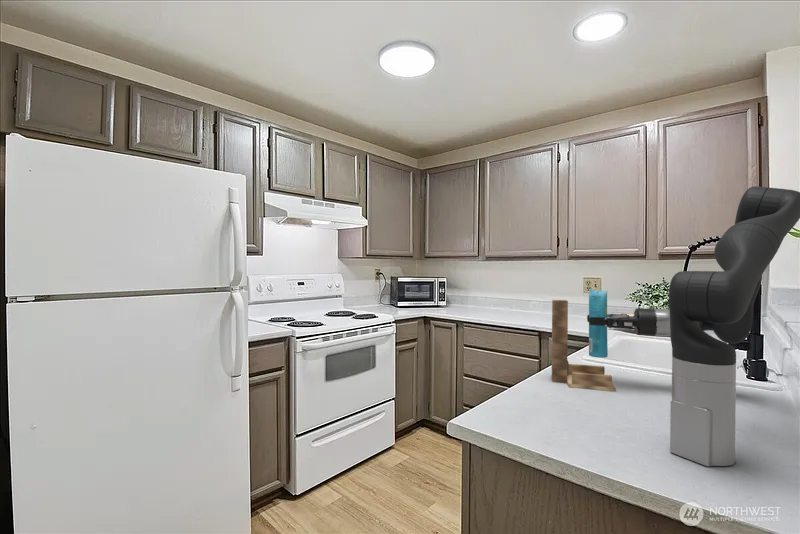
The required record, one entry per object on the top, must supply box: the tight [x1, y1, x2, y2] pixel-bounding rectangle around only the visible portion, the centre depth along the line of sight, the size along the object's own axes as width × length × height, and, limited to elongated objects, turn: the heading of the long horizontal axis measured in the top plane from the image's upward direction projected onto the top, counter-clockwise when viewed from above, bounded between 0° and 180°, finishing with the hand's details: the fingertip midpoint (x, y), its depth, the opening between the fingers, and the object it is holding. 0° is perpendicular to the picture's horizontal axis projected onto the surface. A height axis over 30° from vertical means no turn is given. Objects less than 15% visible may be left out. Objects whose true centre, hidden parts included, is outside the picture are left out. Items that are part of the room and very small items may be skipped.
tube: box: [588, 289, 609, 359], centre depth 116 cm, size 7×5×19 cm, turn 19°
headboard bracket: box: [551, 299, 617, 392], centre depth 117 cm, size 16×12×24 cm
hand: (588, 319), depth 117 cm, fingers closed on tube, 5 cm apart
